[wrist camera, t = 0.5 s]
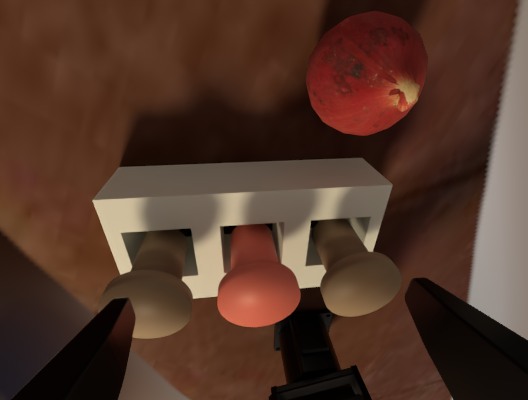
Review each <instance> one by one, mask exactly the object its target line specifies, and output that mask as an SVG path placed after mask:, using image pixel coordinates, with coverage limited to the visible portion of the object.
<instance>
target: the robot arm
mask: <svg viewBox="0 0 528 400" xmlns="http://www.w3.org/2000/svg"><path fill="white" fill-rule="evenodd" d="M405 302H406V304H407V306H408V309H409V311H410V313H411V316H412V318H413V320H414V323H415V325H416V327H417V330H418V332H419V334H420V337H421V339H422V341H423V343H424V345H425V348H426V349H427V351H428V353H429V355H430V357H431V359H432V361H433V363H434V365H435V366H436V368H437V370H438V372H439V374H440V376H441V377H442V379H443V381H444V383H445V385H446V387H447V388H448V390H449V392H450V394H451V396H452V398H453V400H528V340H526V339H525V338H523V337H521V336H520V335H518V334H516V333H515V332H513V331H511V330H510V329H508V328H507V327H505V326H503V325H502V324H500V323H499V322H497V321H495V320H494V319H492V318H490V317H489V316H487V315H486V314H484V313H482V312H481V311H479V310H478V309H476V308H474V307H472V306H471V305H469V304H468V303H466V302H465V301H463V300H461V299H460V298H458V297H456V296H455V295H453V294H452V293H450V292H448V291H447V290H445V289H443V288H442V287H440V286H439V285H437V284H435V283H434V282H432V281H430V280H429V279H427V278H413V279H412V280H411V282H410V284H409V286H408V289H407V291H406V293H405ZM332 315H333V314H332V312H331V311H330V310H319V311H310V312H300V313H291V314H290V315H289V316H287V317H286V318H284V319H283V320H281V321H279V322H276V323H275V330H274V350H275V351H281V354H282V360H283V366H284V371H285V377H286V382H287V384H286V385H282V386H278V387H277V386H274V387H271V393H272V395H270V396H269V400H372V399H371V397H370V395H369V393H368V390H367V388H366V386H365V384H364V382H363V379H362V377H361V375H360V373H359V371H358V369H357V366H356V365H354V366H351V368H347V369H343V370H341V368H340V365H339V362H338V359H337V356H336V353H335V351H334V348H333V345H332V342H331V339H330V336H329V328H330V324H331V320H332ZM135 320H136V316H135V312H134V309H133V306H132V302H131V300H130V298H129V297H120V298H114V299H113V300H111V301H110V302H109V303H108V304H107V305H106V306H105V307H104V308H103V309H102V310H101V311H100V312H99V313H98V314H97V315H96V316H95V317H94V318H93V319H92V320H91V321H90V322H89V323H88V324H87V325H86V326H85V327H84V328H83V329H82V330H81V331H80V332H79V333H78V334H77V335H76V336H75V337H74V338H73V339H72V340H71V341H70V342H69V343H68V344H67V345H66V346H65V347H64V348H63V349H62V350H61V351H60V352H59V353H58V354H57V355H56V356H54V357H53V358H52V359H51V360H50V361H49V362H48V364H46V366H44V367H43V368H42V369H41V370H40V371H39V372H38V373H37V374H36V375H35V376H34V377H33V378H32V379H31V380H30V381H29V382H28V383H27V384H26V385H25V386H24V387H23V388H22V389H21V390H20V391H19V392H18V393H17V394H16V395H15V396H14V397H13V398H12V399H11V400H118V397H119V394H120V390H121V387H122V383H123V380H124V376H125V372H126V367H127V362H128V357H129V352H130V347H131V342H132V337H133V332H134V327H135ZM355 394H356V395H355Z"/></svg>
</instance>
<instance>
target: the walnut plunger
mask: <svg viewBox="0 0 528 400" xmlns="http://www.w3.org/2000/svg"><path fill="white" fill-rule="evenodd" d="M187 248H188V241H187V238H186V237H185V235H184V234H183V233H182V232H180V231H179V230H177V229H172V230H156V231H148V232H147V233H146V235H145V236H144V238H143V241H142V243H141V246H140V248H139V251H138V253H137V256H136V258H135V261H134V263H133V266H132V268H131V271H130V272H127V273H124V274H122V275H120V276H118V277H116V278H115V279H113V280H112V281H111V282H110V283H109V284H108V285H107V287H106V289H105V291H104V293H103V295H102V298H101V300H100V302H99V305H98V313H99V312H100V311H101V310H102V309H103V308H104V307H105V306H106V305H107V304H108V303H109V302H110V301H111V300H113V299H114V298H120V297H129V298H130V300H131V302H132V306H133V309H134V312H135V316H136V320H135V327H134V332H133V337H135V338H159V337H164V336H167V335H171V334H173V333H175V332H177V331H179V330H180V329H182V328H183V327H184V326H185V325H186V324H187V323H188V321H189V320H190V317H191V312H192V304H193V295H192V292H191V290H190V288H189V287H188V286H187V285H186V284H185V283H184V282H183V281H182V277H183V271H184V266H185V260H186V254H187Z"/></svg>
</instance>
